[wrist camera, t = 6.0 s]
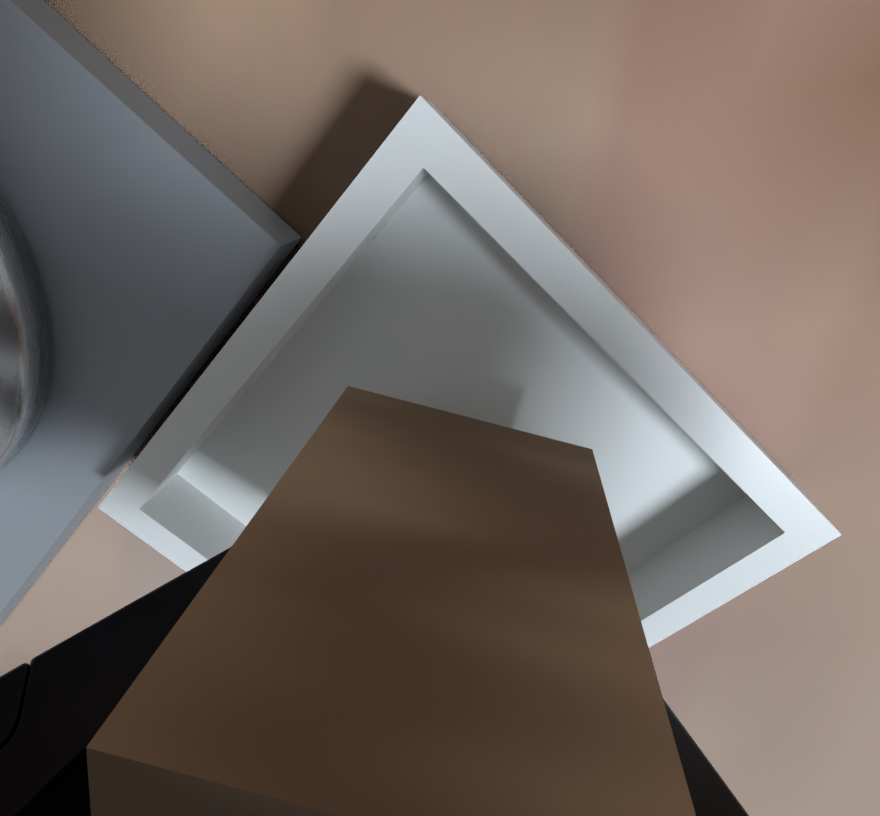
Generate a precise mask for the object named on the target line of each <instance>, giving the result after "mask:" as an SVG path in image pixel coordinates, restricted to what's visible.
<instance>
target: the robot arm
mask: <svg viewBox="0 0 880 816" xmlns="http://www.w3.org/2000/svg"><path fill="white" fill-rule="evenodd" d="M231 547H232V546H231ZM231 547H230V548H231ZM230 548H228V549H226V550H224V551H223V552H221V553H219V554H217V555H215V556H214V557H212V558H210V559H208V560H207V561H205V562H203V563H201V564H199V565H198V566H196V567H194V568H192V569H191V570H189V571H187V572H185V573H184V574H182V575H180V576H178V577H176V578H175V579H173V580H171V581H169V582H168V583H166V584H164V585H162V586H161V587H159V588H157V589H155V590H153V591H152V592H150V593H148V594H146V595H145V596H143V597H141V598H139V599H137V600H136V601H134V602H132V603H130V604H129V605H127V606H125V607H123V608H122V609H120V610H118V611H116V612H114V613H113V614H111V615H109V616H107V617H106V618H104V619H102V620H100V621H98V622H97V623H95V624H93V625H91V626H90V627H88V628H86V629H84V630H83V631H81V632H79V633H77V634H75V635H74V636H72V637H70V638H68V639H67V640H65V641H63V642H61V643H59V644H58V645H56V646H54V647H52V648H51V649H49V650H47V651H45V652H44V653H42V654H40V655H38V656H36V657H35V658H33V659H32V660H31V663H30V665H29V664H27V663H24V664H22V665H20V666H18V667H16V668H15V669H13V670H11V671H9V672H8V673H6V674H4V675H2V676H1V677H0V816H91V809H90V795H89V781H88V767H87V753H86V747H87V745H88V744H89V743H90V741H91V740H92V739H93V737H94V736H95V734H96V733H97V732H98V730H99V729H100V728H101V726H102V725H103V723H104V722H105V721H106V719H107V718H108V716H109V715H110V714H111V712H112V711H113V710H114V708H115V707H116V705H117V704H118V703H119V701H120V700H121V699H122V697H123V696H124V694H125V693H126V692H127V690H128V689H129V687H130V686H131V685H132V683H133V682H134V681H135V679H136V678H137V676H138V675H139V674H140V672H141V671H142V670H143V668H144V667H145V665H146V664H147V663H148V661H149V660H150V658H151V657H152V656H153V654H154V653H155V652H156V650H157V649H158V647H159V646H160V645H161V643H162V642H163V641H164V639H165V638H166V636H167V635H168V634H169V632H170V631H171V630H172V628H173V627H174V625H175V624H176V623H177V621H178V620H179V618H180V617H181V616H182V614H183V613H184V612H185V610H186V609H187V607H188V606H189V605H190V603H191V602H192V601H193V599H194V598H195V596H196V595H197V594H198V592H199V591H200V589H201V588H202V587H203V585H204V584H205V583H206V581H207V580H208V578H209V577H210V576H211V574H212V573H213V572H214V570H215V569H216V567H217V566H218V565H219V563H220V562H221V560H222V559H223V558H224V556H225V555H226V554H227V552H228V551H229V549H230ZM663 701H664V699H663ZM664 704H665V708H666V711H667V715H668V718H669V722H670V726H671V729H672V733H673V736H674V740H675V743H676V747H677V750H678V754H679V757H680V761H681V764H682V768H683V771H684V775H685V779H686V782H687V786H688V789H689V793H690V796H691V800H692V803H693V807H694V810H695V814H696V816H749V815H748V814H747V812H746V811H745V810H744V808H743V807H742V806H741V804H740V803H739V801H738V800H737V799H736V797H735V796H734V795H733V793H732V792H731V791H730V789H729V788H728V786H727V785H726V784H725V782H724V781H723V780H722V778H721V777H720V776H719V774H718V773H717V771H716V770H715V769H714V767H713V766H712V765H711V763H710V762H709V761H708V759H707V758H706V756H705V755H704V754H703V752H702V751H701V750H700V748H699V747H698V746H697V744H696V743H695V741H694V740H693V739H692V737H691V736H690V735H689V733H688V732H687V731H686V729H685V728H684V726H683V725H682V724H681V722H680V721H679V720H678V718H677V717H676V716H675V714H674V713H673V711H672V710H671V709H670V707H669V706H668V705H667V703H666V702H665V701H664Z"/></svg>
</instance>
